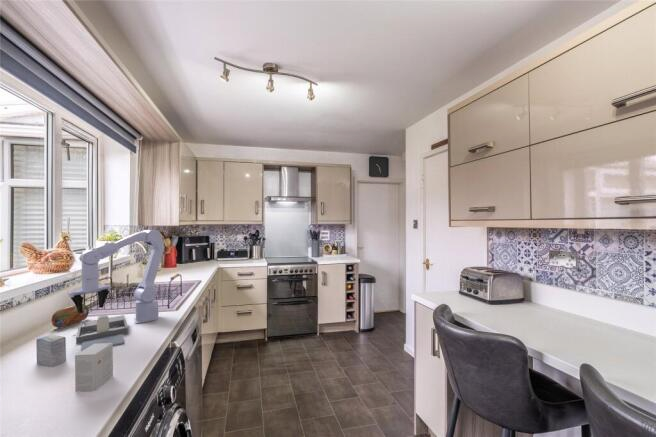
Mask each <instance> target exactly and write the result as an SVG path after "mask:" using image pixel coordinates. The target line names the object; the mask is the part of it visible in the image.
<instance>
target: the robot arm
mask: <svg viewBox="0 0 656 437" xmlns="http://www.w3.org/2000/svg"><path fill="white" fill-rule="evenodd" d="M163 239H164V238H163V235H162V233H161V232H160V231H159V230H158V229H144V230H140V231H137V232H135V233H133V234H131V235H128V236H126V237H124V238H122V239H120V240H118V241H116V242H114V241H105V242H103V244H101V245H98V246H96V247H95V246H94V247H91V250H90V249H89V250H88V249H87V250H85V251H83V252H82V253H81V254H80V256H79V257H78V259H79V261H80V263H81V289H78V290H73V291H69V292H68V298H70V299H71V300H72V302H73V303H74V305H76V307H77V310H78V313H82V311H83V307H82V304H84V296H82V295H88V294H93V293H97V297H98V308H100V309H102V308H104V304H105V301H106V299H107V298H108V295H109V294H110V290H112V289H111V286H112V285H111V284H106V285H105V284H104V285H100V276H99V273H100V271H99V270H100V269H99V268H100V267H99V263H100V261H101V260H104V259H106V258H108V257H111V256H113V255H114V254H117V253H118V251H119V249H121V248H125V247H127V246H129V245H132V244H135V243H136V242H144V243H145V244H147V246H149V248H150V249H151V250H150V253H149V257H148V259H147V263H146V266H145V269H144V272H143V273H144V274H143V275H142V278H141V281H140V282H139V283H138V286H137V288H135V290H134V291H133V297H134V299H135V318H133V320H134V324H141V323H147V322H151V321H152V322H153V321H157V320H159V302H158V300H157V299H155V300H154V298H155V297H156V293H155V292H156V291H155V289H156V285H155V281H156V278H157V273H158V271H159V268H160V264H161V261H162V258H163V255H164V254H163V253H164V252H165V244H164V241H163Z"/></svg>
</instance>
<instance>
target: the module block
mask: <svg viewBox="0 0 656 437" xmlns="http://www.w3.org/2000/svg"><path fill="white" fill-rule="evenodd" d="M109 318H110V316H109V314H107V313H105V314H100V315H97V316H96V320H97V330H96V333H99V332H104V331H109V330H110V328H109Z"/></svg>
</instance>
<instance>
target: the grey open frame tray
mask: <svg viewBox="0 0 656 437" xmlns="http://www.w3.org/2000/svg"><path fill="white" fill-rule="evenodd" d="M121 326H123V327H121ZM116 327H121V328H116ZM111 328H116V329H111ZM94 331H97V319H94V320H89V321H86V319H85V320H82V322H79V326H78V328H77V332H76V336H75V337H76V338H75V341H76V343H75V344H76V345H79V344H82V342H84V341H89V340H94V339H99V338H104V337H109V336H114V335H119V334H123V335H126V334H128V333H129V332H128V331H129V327H128V324H127V320H126V318H125V315H124V314H121V315H116V316H109V331H104V332H99V333H97V332H94ZM91 332H94V333H91ZM85 333H90V334H85ZM81 334H85V335H81Z"/></svg>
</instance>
